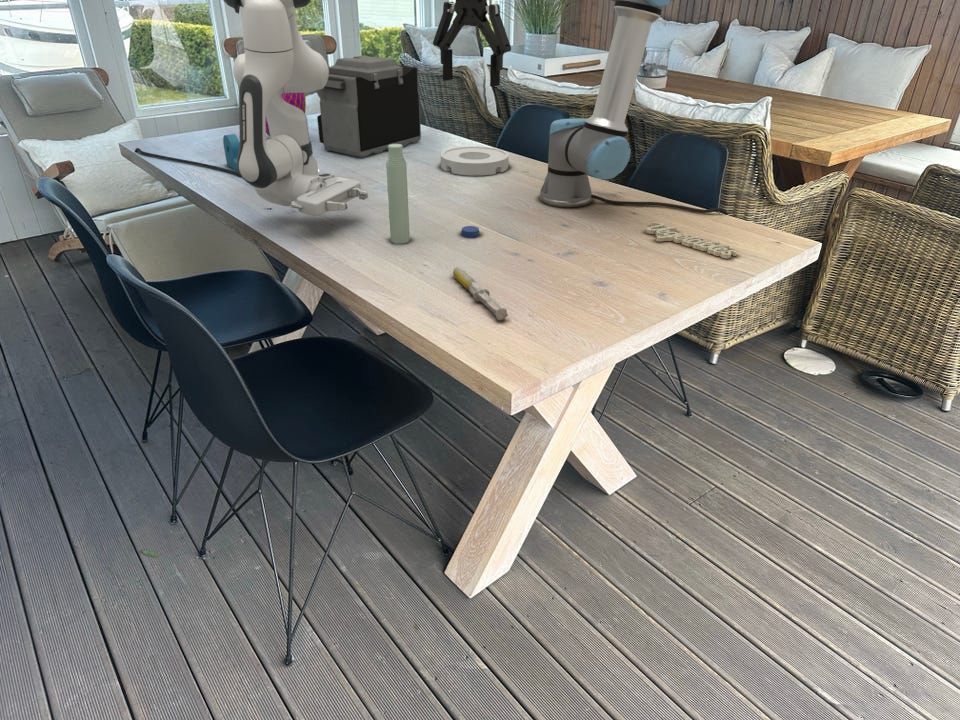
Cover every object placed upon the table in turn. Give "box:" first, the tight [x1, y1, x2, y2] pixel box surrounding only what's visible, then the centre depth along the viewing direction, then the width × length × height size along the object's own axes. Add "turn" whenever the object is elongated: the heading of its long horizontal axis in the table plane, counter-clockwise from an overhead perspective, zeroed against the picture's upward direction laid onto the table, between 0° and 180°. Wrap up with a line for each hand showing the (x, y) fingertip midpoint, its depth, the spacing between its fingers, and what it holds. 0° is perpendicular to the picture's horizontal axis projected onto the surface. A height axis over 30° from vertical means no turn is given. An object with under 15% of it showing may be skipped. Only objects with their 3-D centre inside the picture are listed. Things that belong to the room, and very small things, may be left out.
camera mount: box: [222, 133, 240, 173], centre depth 226 cm, size 18×10×10 cm, turn 35°
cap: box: [460, 225, 480, 238], centre depth 177 cm, size 5×5×2 cm
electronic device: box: [315, 55, 422, 159], centre depth 250 cm, size 37×22×30 cm, turn 144°
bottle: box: [385, 144, 411, 245], centre depth 167 cm, size 5×5×24 cm
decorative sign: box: [645, 221, 738, 259], centre depth 174 cm, size 26×1×10 cm
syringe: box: [452, 266, 509, 321], centre depth 145 cm, size 25×4×3 cm, turn 21°
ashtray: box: [440, 145, 510, 177], centre depth 233 cm, size 23×23×4 cm
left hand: (356, 201), depth 174 cm, fingers open, 8 cm apart
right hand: (470, 82), depth 159 cm, fingers open, 13 cm apart
